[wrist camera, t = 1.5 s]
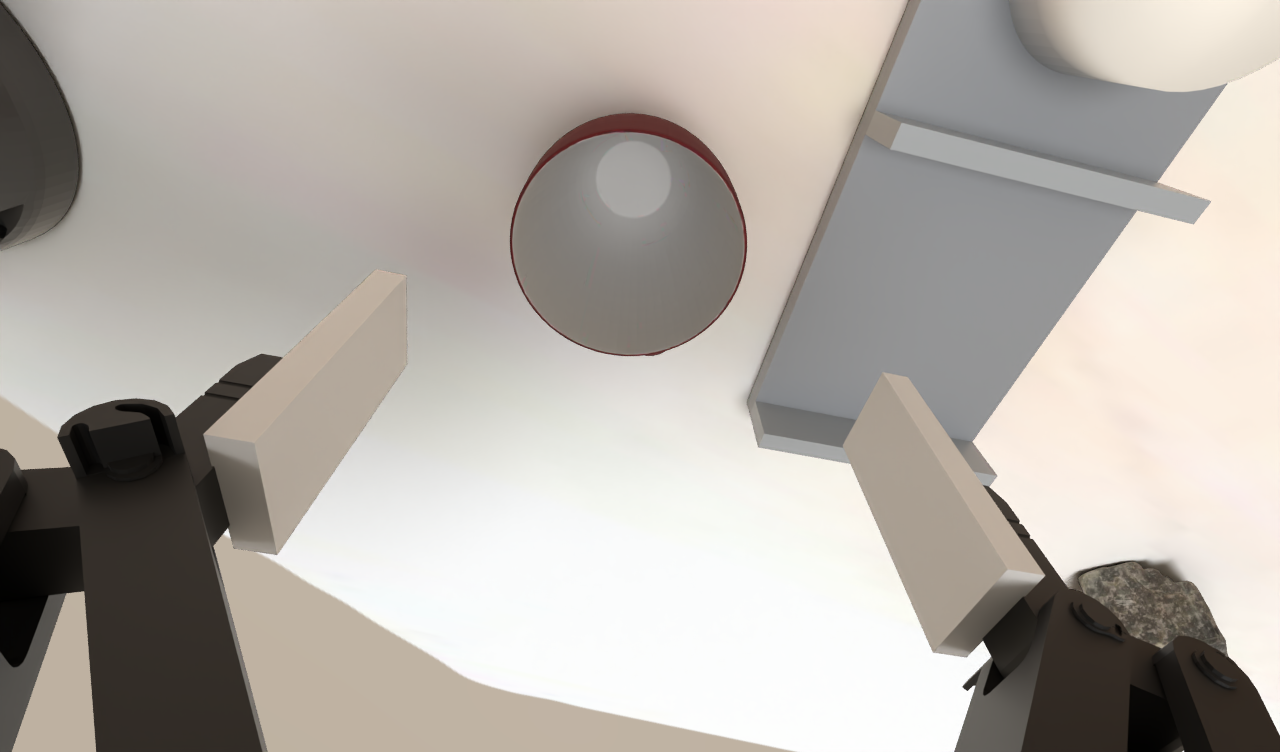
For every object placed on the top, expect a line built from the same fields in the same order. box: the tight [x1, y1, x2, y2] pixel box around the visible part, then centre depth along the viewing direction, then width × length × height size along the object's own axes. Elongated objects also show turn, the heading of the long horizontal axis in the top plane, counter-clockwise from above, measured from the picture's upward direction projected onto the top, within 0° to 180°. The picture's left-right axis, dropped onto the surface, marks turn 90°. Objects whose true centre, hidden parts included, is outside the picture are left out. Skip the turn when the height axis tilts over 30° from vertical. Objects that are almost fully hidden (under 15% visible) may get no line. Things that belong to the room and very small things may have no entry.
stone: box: [1078, 562, 1228, 657], centre depth 43 cm, size 14×7×10 cm, turn 59°
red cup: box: [510, 113, 747, 356], centre depth 24 cm, size 10×8×10 cm
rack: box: [747, 0, 1228, 486], centre depth 25 cm, size 14×33×4 cm, turn 168°
